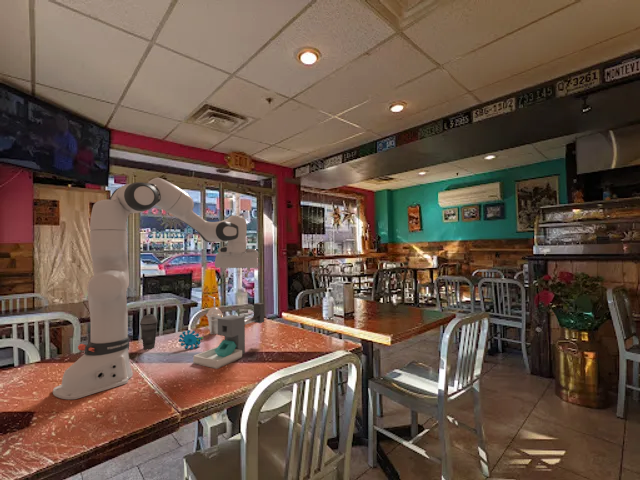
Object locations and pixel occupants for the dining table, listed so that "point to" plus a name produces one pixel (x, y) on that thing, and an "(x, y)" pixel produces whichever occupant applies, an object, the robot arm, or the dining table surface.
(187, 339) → the teal virus model
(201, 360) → the tray
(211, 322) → the cup with straw
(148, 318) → the beverage cup
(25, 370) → the dining table surface
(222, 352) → the spacer
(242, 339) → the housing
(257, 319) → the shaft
